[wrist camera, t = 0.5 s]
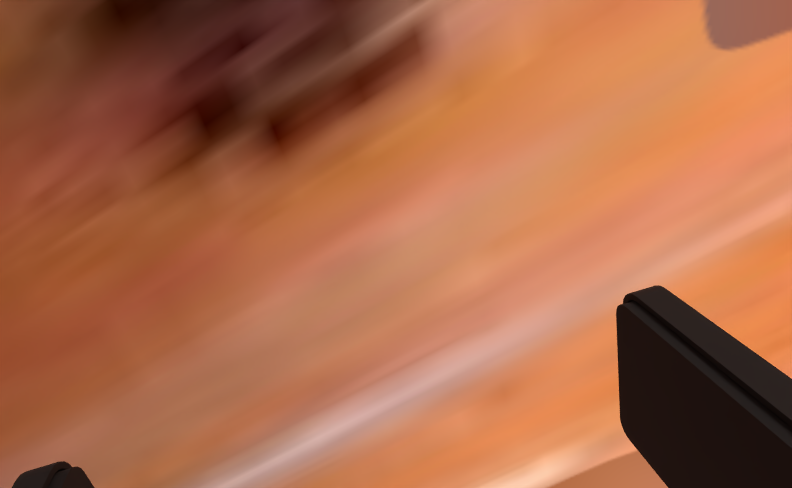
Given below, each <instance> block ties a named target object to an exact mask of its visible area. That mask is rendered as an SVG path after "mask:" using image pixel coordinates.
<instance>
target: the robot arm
mask: <svg viewBox="0 0 792 488" xmlns="http://www.w3.org/2000/svg"><path fill="white" fill-rule="evenodd" d="M616 318H617V346H618V373H619V400H620V420H621V424H622V427H623V429H624V432H625V434H626V435H627V437H628V438H629V440H630V441H631V442H632V444H633V445H634V446H635V447H636V448H637V450H638V451H639V452H640V453H641V455H642V456H643V457H644V458H645V459H646V461H647V462H648V463H649V464H650V466H651V467H652V468H653V469H654V470H655V472H656V473H657V474H658V475H659V477H660V478H661V479H662V480H663V482H664V483H665V484H666V485H667V486H668V488H792V379H791V378H790V377H788V376H787V375H786V374H784V373H783V372H781V371H780V370H779V369H777V368H776V367H774V366H773V365H772V364H770V363H769V362H767V361H766V360H765V359H763V358H762V357H760V356H759V355H758V354H756V353H755V352H753V351H752V350H751V349H749V348H748V347H746V346H745V345H744V344H742V343H741V342H739V341H738V340H737V339H735V338H734V337H732V336H731V335H730V334H728V333H727V332H725V331H724V330H723V329H721V328H720V327H718V326H717V325H716V324H714V323H713V322H711V321H710V320H709V319H707V318H706V317H704V316H703V315H702V314H700V313H699V312H697V311H696V310H695V309H693V308H692V307H690V306H689V305H688V304H686V303H685V302H683V301H682V300H681V299H679V298H678V297H677V296H675V295H674V294H672V293H671V292H670V291H668V290H667V289H665V288H664V287H662V286H653V287H649V288H646V289H642V290H639V291H636V292H632V293H629V294H627V295H625V297H624V299H623V304H621V305H619V306H618V307H617V311H616ZM12 488H94V486H93V485H92V483H91V482H90V480H89V479H88V477H87V475H86V474H85V472H84V471H83V470H82V469H81V468H79V467H71V465H70V464H68V463H66V462H57V463H53V464H50V465H47V466H43V467H40V468H37V469H33V470H30V471H26V472H24V473H23V474H21V475H20V476H19V477H18V478H17V480H16V481H15V483H14V485H13V486H12Z"/></svg>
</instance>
